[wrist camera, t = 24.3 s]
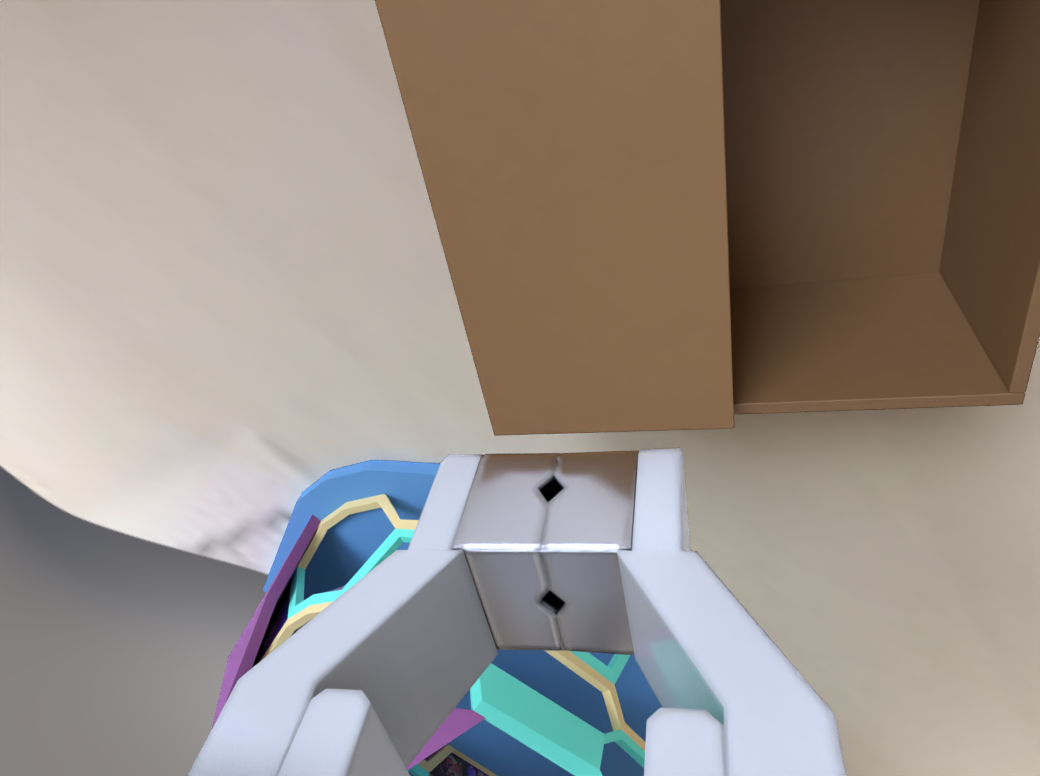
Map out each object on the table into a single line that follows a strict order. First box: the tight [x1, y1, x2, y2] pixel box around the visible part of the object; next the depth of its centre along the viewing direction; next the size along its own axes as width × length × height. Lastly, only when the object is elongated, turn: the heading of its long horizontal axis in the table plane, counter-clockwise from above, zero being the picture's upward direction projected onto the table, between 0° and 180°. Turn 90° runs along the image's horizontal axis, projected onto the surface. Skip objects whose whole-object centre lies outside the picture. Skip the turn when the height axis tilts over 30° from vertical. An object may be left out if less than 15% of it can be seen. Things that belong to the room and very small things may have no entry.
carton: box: [720, 0, 1040, 414], centre depth 20 cm, size 15×15×7 cm
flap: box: [375, 0, 734, 435], centre depth 18 cm, size 7×15×1 cm, turn 11°
